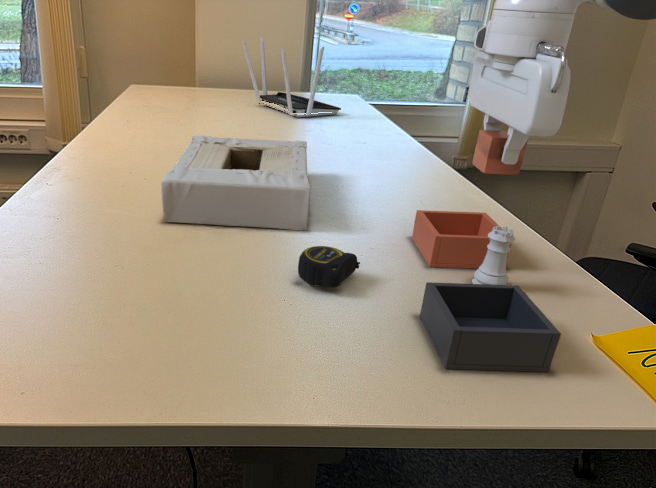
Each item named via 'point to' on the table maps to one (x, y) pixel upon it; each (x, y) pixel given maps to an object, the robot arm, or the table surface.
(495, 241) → the rook chess piece
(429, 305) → the charcoal bin
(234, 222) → the box
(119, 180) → the table surface
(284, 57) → the wireless router
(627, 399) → the table surface
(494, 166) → the terracotta block
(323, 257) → the tape measure
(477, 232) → the terracotta bin
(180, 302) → the table surface
